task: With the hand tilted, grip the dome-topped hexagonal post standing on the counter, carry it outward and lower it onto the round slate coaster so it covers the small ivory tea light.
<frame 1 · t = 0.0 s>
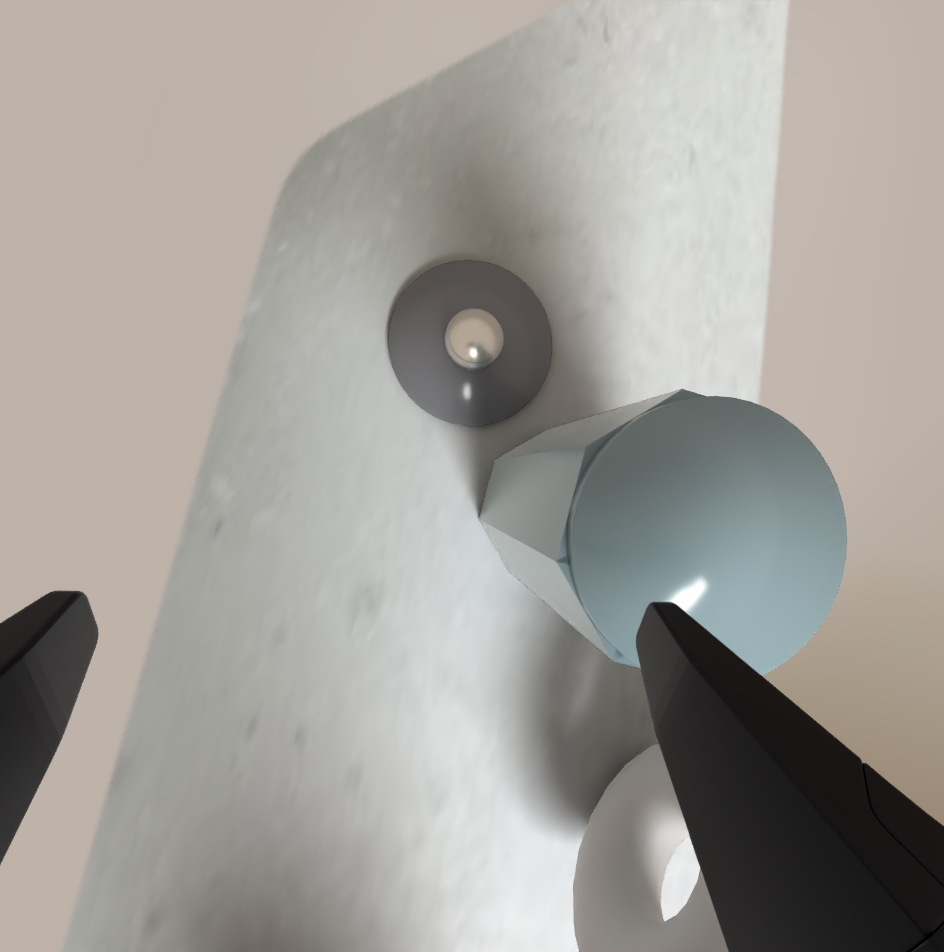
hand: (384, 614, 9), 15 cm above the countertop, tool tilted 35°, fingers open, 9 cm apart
dome-topped hexagonal post: (556, 507, 25), on the countertop
slate coaster: (470, 344, 25), on the countertop
donut: (623, 793, 26), on the countertop
tealight: (471, 342, 24), resting on slate coaster
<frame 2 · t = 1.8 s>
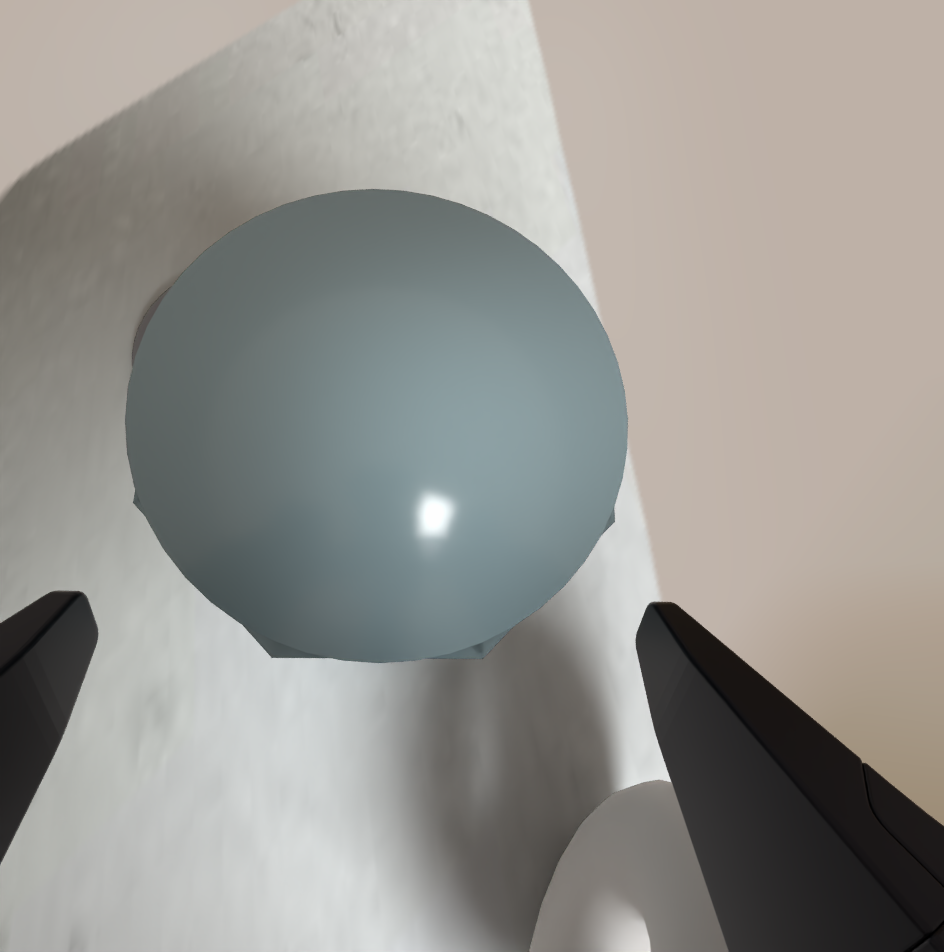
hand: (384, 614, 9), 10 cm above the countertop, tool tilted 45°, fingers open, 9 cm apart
dome-topped hexagonal post: (390, 528, 20), on the countertop
slate coaster: (242, 358, 20), on the countertop
donut: (577, 902, 18), on the countertop
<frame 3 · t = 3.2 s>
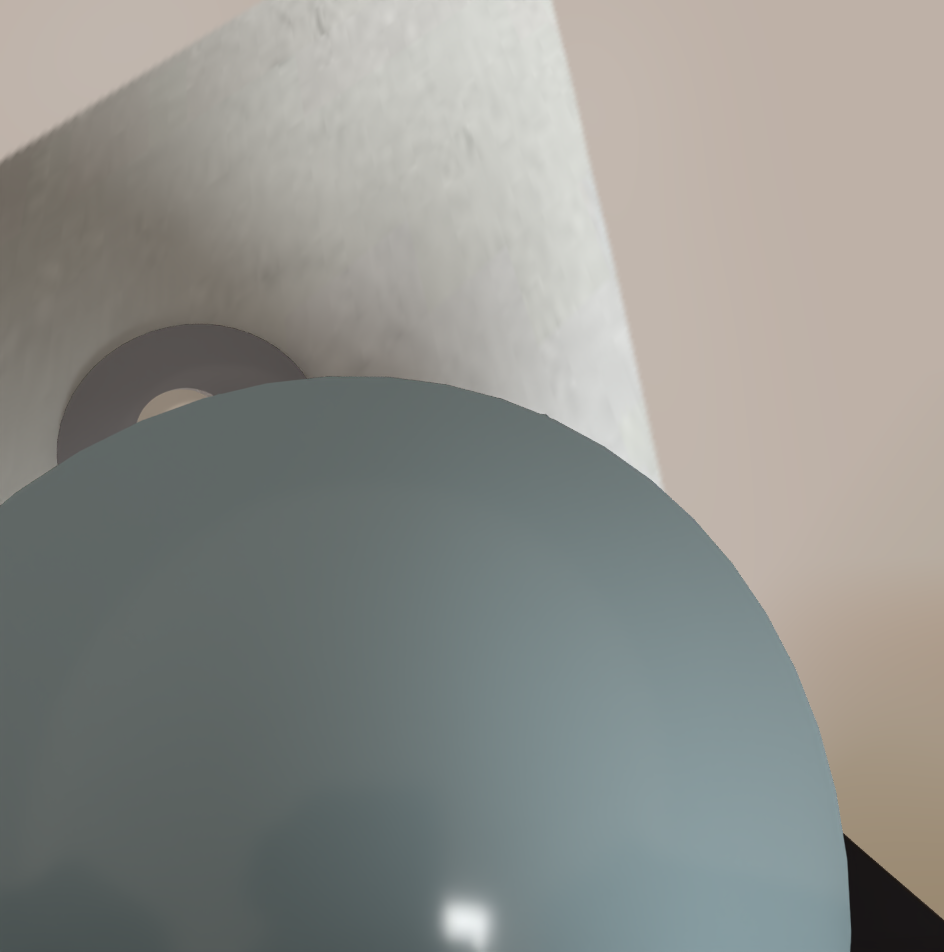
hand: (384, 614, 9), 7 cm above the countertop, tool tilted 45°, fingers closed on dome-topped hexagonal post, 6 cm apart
dome-topped hexagonal post: (384, 660, 16), on the countertop, touching gripper
slate coaster: (199, 443, 16), on the countertop
tealight: (195, 440, 16), resting on slate coaster
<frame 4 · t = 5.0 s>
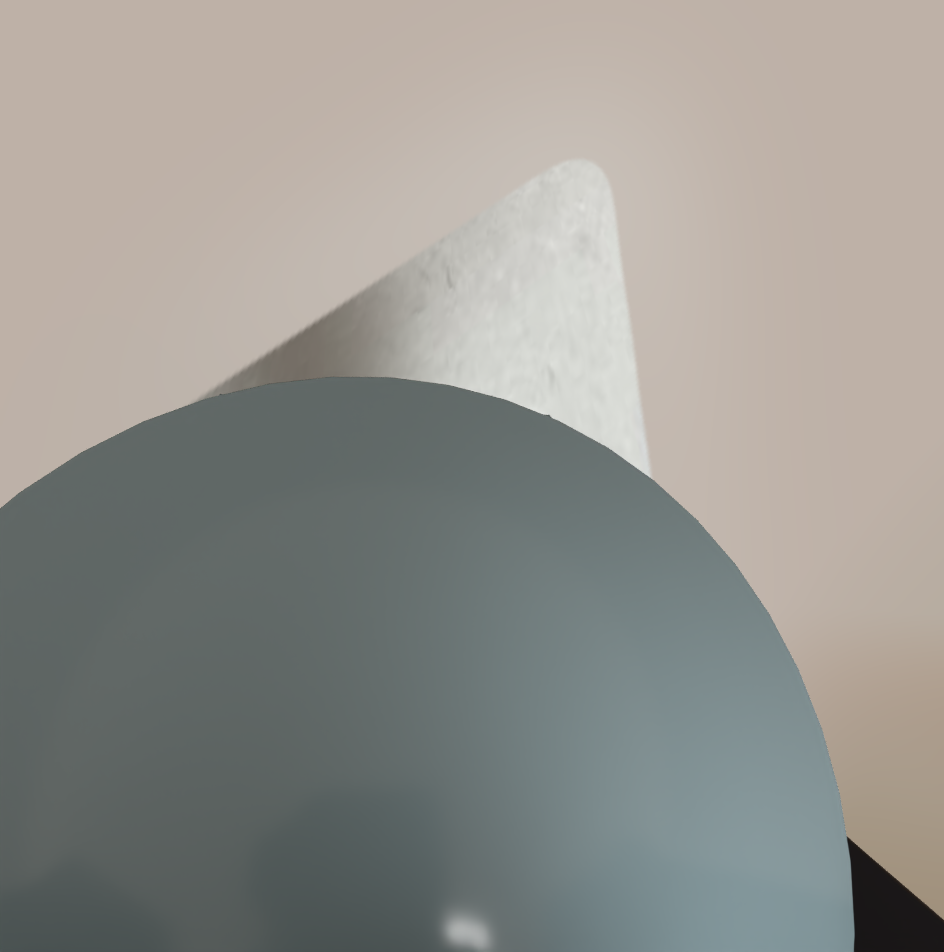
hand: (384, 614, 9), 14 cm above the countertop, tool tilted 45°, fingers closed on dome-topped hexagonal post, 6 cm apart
dome-topped hexagonal post: (384, 660, 16), point 7 cm above the countertop, touching gripper
when the fingers open (8 cm above the countertop, at t = 6.6 s): dome-topped hexagonal post drops 1 cm, resting on slate coaster.
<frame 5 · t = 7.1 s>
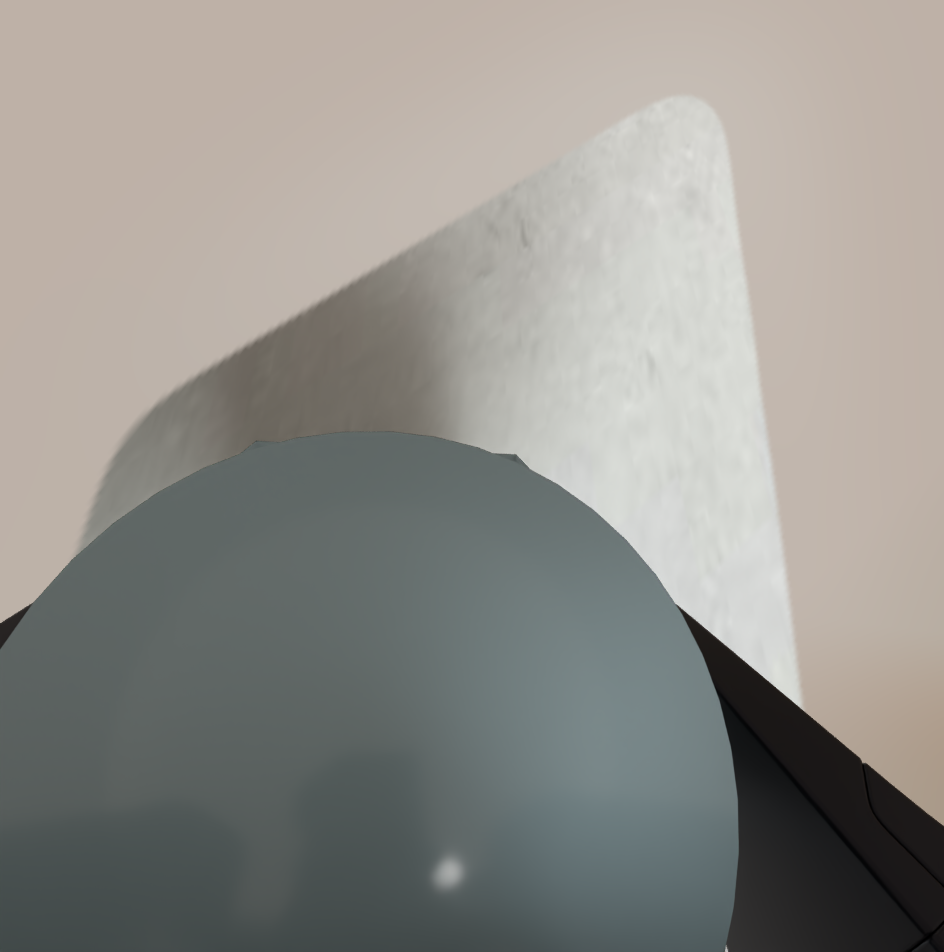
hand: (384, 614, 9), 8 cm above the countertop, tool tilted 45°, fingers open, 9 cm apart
dome-topped hexagonal post: (384, 656, 17), resting on slate coaster
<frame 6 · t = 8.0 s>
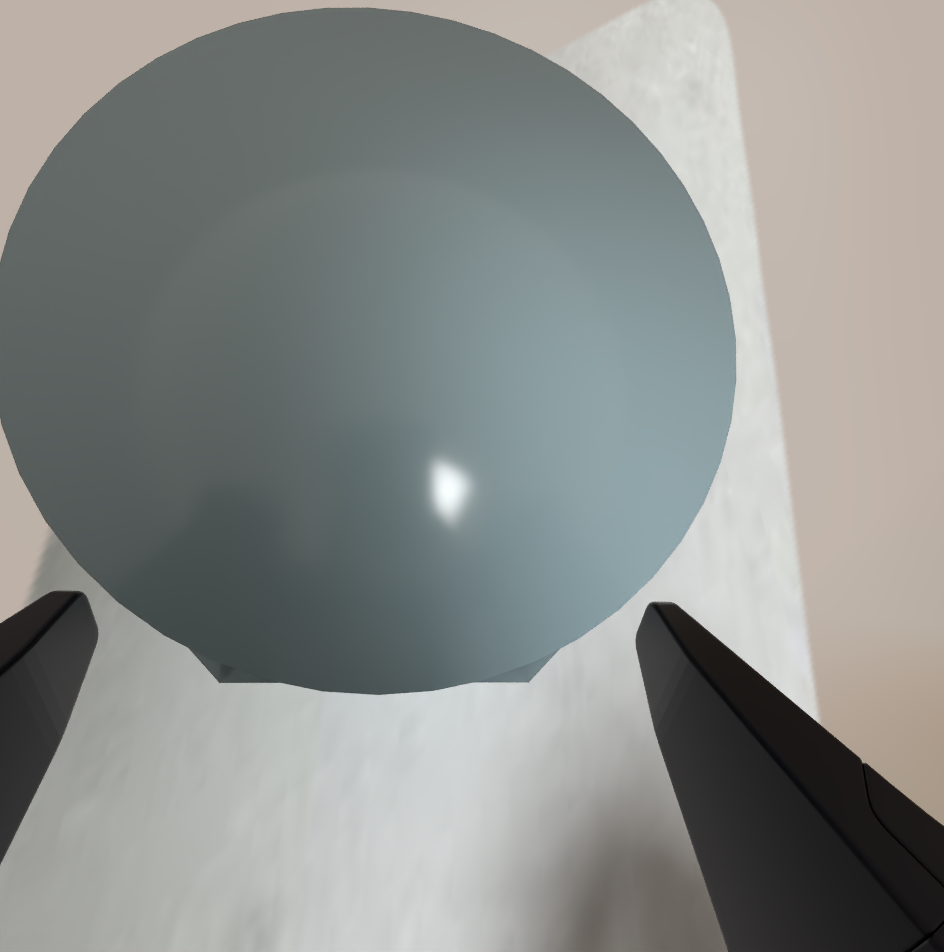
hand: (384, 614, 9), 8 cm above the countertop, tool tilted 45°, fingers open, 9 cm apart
dome-topped hexagonal post: (392, 508, 17), resting on slate coaster
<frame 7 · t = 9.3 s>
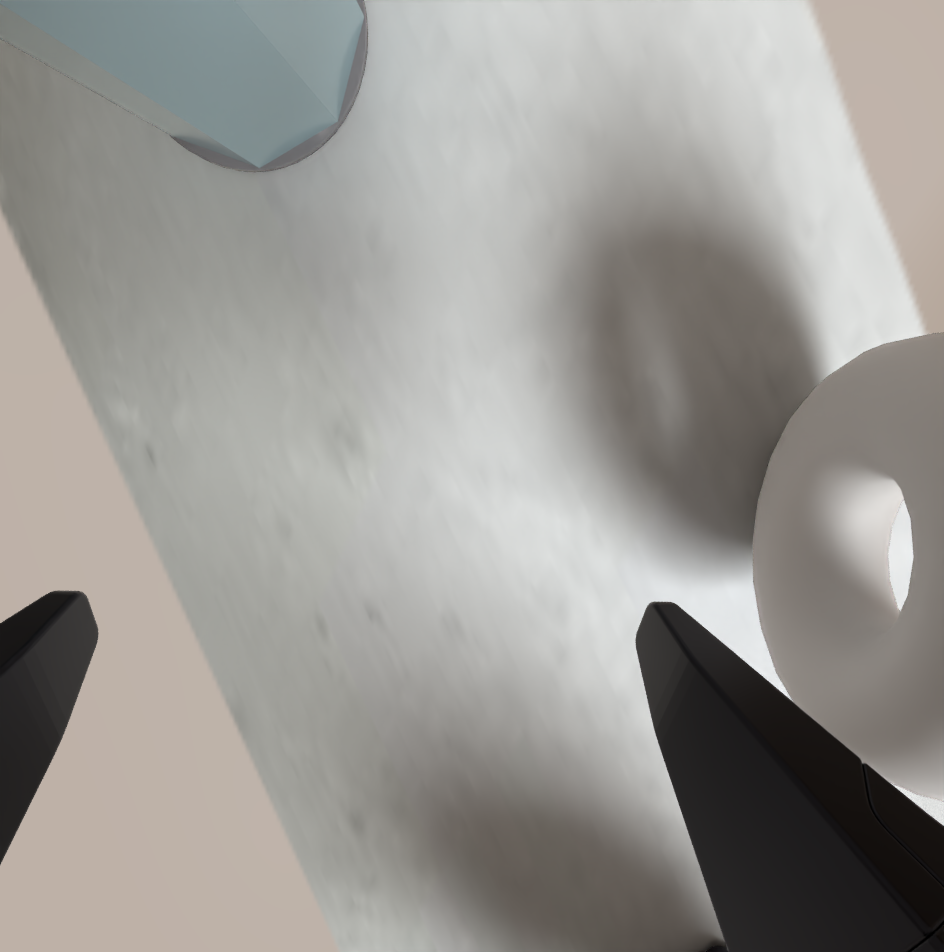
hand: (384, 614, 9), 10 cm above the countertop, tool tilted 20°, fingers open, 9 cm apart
dome-topped hexagonal post: (241, 30, 16), resting on slate coaster
slate coaster: (245, 35, 16), on the countertop
donut: (793, 493, 18), on the countertop
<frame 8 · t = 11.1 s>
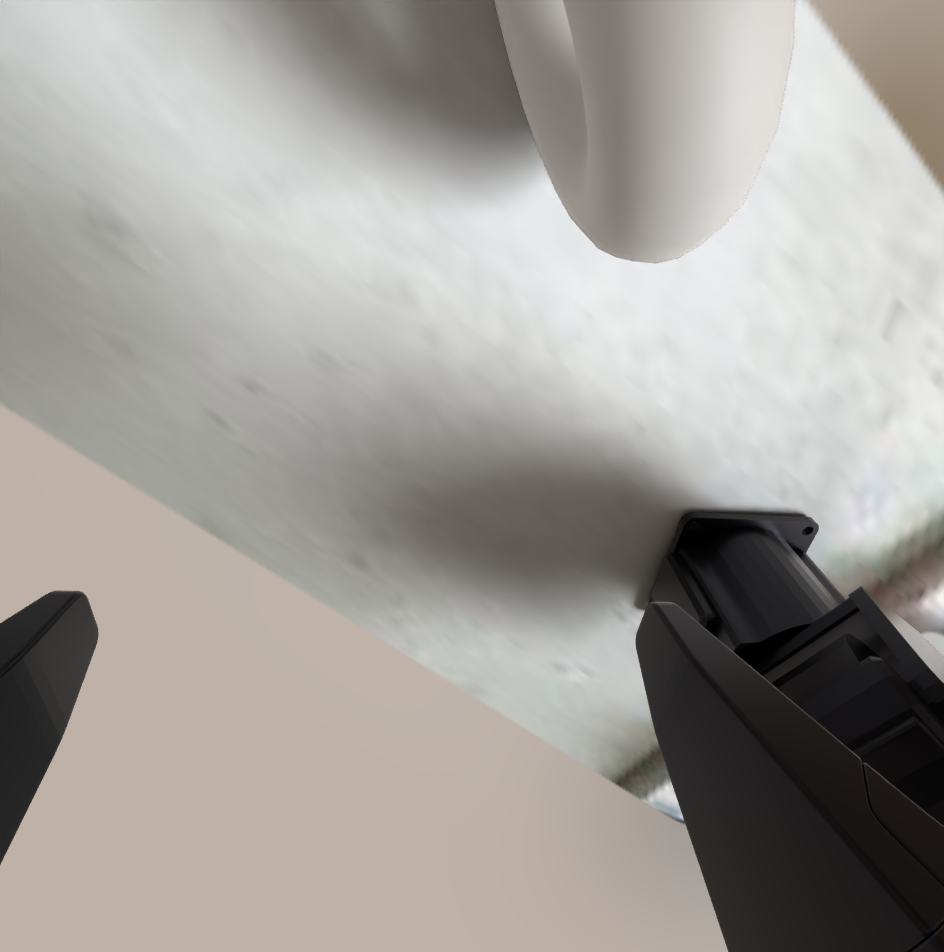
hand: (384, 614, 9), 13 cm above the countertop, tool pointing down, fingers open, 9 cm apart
donut: (558, 40, 16), on the countertop
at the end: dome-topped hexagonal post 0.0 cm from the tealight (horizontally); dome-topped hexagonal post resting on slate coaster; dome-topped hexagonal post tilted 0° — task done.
